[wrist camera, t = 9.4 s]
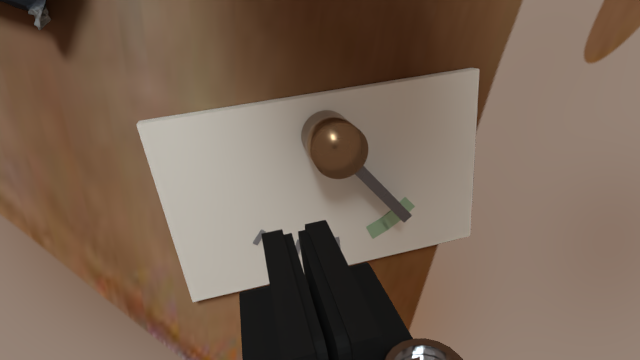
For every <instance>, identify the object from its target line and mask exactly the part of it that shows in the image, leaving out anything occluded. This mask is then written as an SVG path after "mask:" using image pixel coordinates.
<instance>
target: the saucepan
mask: <svg viewBox="0 0 640 360" xmlns="http://www.w3.org/2000/svg"><path fill="white" fill-rule="evenodd" d="M301 140H302V144H303V146H304V148H305V150H306V151H307V153H308V155H309V156H310V158H311V159H312V161H313V163H314V164H315V166H316V167H317V169H318V170H319V171H320V172H321V173H322V174H323V175H325V176H326V177H329V178H332V179H344V178H348V177H350V176H352V175H354V174H355V175H356V176H358V177H359V178H360V179H361V180H362V181H363V182H364V183H365V184H366V185H367V186H368V187H369V188H370V189H371V190H372V191H373V192H374V193H375V194H376V195H377V196H378V197H379V198H380V199H381V200H382V201H383V202H384V203H385V204H386V205H387V206H388V207H389V208H390V209H391V210H392V211H393V212H394V213H395V214H396V215H397V216H398V217H399V218H400V219H401V220H402V221H403V222H404V223H405V222H406V221H407V220H408V219H409V218H410V217H411V216H412V215H411V214H410V213H409V212H408V211H407V210H406V208H405V207H404V206H403V205H402V204H401V203H400V202H399V201H398V200H397V199H396V198H395V197H394V196H393V195H392V194H391V193H390V192H389V191H388V190H387V189H386V188H385V187H384V186H383V185H382V184H381V183H380V182H379V181H378V180H377V179H376V178H375V177H374V176H373V175H372V174H371V173H370V172H369V171H368V170H367V169H366V168H365V166H364V163H365V162H366V159H367V156H368V142H367V139H366V137H365V135H364V134H363V133H362V132H361V131H360V130H359V129H358V128H357V127H355V126H354V125H353V124H352V123H350V122H349V121H348V120H347V119H346V118H344V117H343V116H342V115H340V114H339V113H337V112H335V111H331V110H323V111H319V112H317V113H315V114H313V115H312V116H310V117H309V118H308V119H307V120H306V122H305V123H304V125H303V128H302V132H301Z"/></svg>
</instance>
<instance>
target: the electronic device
mask: <svg viewBox="0 0 640 360" xmlns="http://www.w3.org/2000/svg"><path fill="white" fill-rule="evenodd" d="M0 1H2V2H5V3H7V4H10V5H12V6H14V7H16V8H20V9H23V10H26V11H28V13H29V14H32V15H34V17H35V23H34V25H35V26H37V27H38V29H39V30H41V29H42V28H43V27H44V26H45V25H46V24H47V23H48V22H49V21H50V20H52V19H51V18H50V17H49V16H48V10H47V9H46V4H45V2H46V0H0Z"/></svg>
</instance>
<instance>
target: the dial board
mask: <svg viewBox="0 0 640 360" xmlns="http://www.w3.org/2000/svg"><path fill="white" fill-rule="evenodd" d="M478 86H479V69H476V68H467V69H461V70H454V71H448V72H442V73H436V74H429V75H423V76H417V77H411V78H404V79H398V80H392V81H386V82H379V83H373V84H367V85H361V86H354V87H348V88H342V89H336V90H329V91H323V92H317V93H311V94H304V95H298V96H292V97H286V98H279V99H273V100H267V101H261V102H254V103H248V104H242V105H236V106H229V107H223V108H217V109H211V110H204V111H198V112H192V113H186V114H179V115H173V116H167V117H161V118H154V119H148V120H142V121H139V122H138V123H137V124H136V125H137V128H138V131H139V134H140V138H141V141H142V144H143V147H144V150H145V153H146V156H147V160H148V163H149V166H150V169H151V172H152V175H153V179H154V182H155V185H156V188H157V191H158V194H159V197H160V201H161V204H162V207H163V210H164V213H165V216H166V220H167V223H168V226H169V229H170V232H171V235H172V238H173V242H174V245H175V248H176V251H177V254H178V257H179V261H180V264H181V267H182V270H183V273H184V276H185V279H186V283H187V286H188V289H189V292H190V295H191V298H192V302H196V301H200V300H204V299H208V298H213V297H217V296H221V295H225V294H229V293H234V292H238V291H242V290H246V289H251V288H255V287H259V286H263V285H267V284H269V278H268V272H267V266H266V260H265V254H264V248H263V242H262V236H261V234H262V233H267V232H271V231H276V230H281V229H282V230H283V234H289V233H292V236H293V239H294V242H295V245H296V249H297V252H298V255H299V258H300V262H301V265H302V268H303V262H302V256H301V250H300V244H299V237H298V231H302V230H305V224H308V223H313V222H318V221H322V220H326V221H327V223H328V225H329V227H330V229H331V231H332V233H333V235H334V237H335V239H336V241H337V243H338V245H339V247H340V249H341V251H342V253H343V255H344V257H345V259H346V261H347V263H348V265H352V264H356V263H360V262H364V261H369V260H373V259H377V258H381V257H385V256H390V255H394V254H398V253H402V252H407V251H411V250H415V249H419V248H423V247H428V246H432V245H436V244H440V243H444V242H449V241H452V240H457V239H461V238H465V237H470V235H471V217H472V198H473V179H474V161H475V160H474V159H475V142H476V124H477V105H478ZM323 110H331V111H335V112H337V113H339V114H340V115H342V116H343V117H344V118H346V119H347V120H348V121H349V122H350V123H352V124H353V125H354V126H355V127H357V128H358V129H359V130H360V131H361V132H362V133H363V134H364V135H365V137H366V139H367V142H368V156H367V159H366V162H365V163H364V166H365V168H366V169H367V170H368V171H369V172H370V173H371V174H372V175H373V176H374V177H375V178H376V179H377V180H378V181H379V182H380V183H381V184H382V185H383V186H384V187H385V188H386V189H387V190H388V191H389V192H390V193H391V194H392V195H393V196H394V197H395V198H396V199H397V200H398V201H399V202H400V203H401V204H402V205H403V206H404V207H405V208H406V210H407V211H408V212H409V213H410V214H411V215H412V216H411V217H410V218H409V219H408V220H407V221H406V222H405V223H404V222H403V221H402V220H401V219H400V218H399V217H398V216H397V215H396V214H395V213H394V212H393V211H392V210H391V209H390V208H389V207H388V206H387V205H386V204H385V203H384V202H383V201H382V200H381V199H380V198H379V197H378V196H377V195H376V194H375V193H374V192H373V191H372V190H371V189H370V188H369V187H368V186H367V185H366V184H365V183H364V182H363V181H362V180H361V179H360V178H359V177H358V176H356V175H355V174H354V175H352V176H350V177H348V178H344V179H332V178H329V177H326V176H325V175H323V174H322V173H321V172H320V171H319V170H318V169H317V167H316V166H315V164H314V163H313V161H312V159H311V158H310V156H309V155H308V153H307V151H306V150H305V148H304V146H303V144H302V140H301V132H302V128H303V125H304V123H305V122H306V120H307V119H308V118H309V117H310V116H312V115H313V114H315V113H317V112H319V111H323ZM303 271H304V269H303Z"/></svg>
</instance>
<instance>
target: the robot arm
mask: <svg viewBox="0 0 640 360" xmlns="http://www.w3.org/2000/svg"><path fill="white" fill-rule="evenodd" d="M261 236H262V242H263V248H264V254H265V260H266V266H267V272H268V278H269V284H270V285H269V286H264V287H260V288H256V289H252V290H248V291H243V292H240V294H239V295H240V318H241V337H242V356H243V360H463V359H462V358H461V357H460V356H459V355H458V354H457V353H456V352H455V351H453V350H452V349H451V348H450V347H448V346H446V345H444V344H442V343H440V342H438V341H434V340H429V339H413V338H412V337H411V335H410V333H409V331H408V330H407V328H406V326H405V324H404V323H403V321H402V319H401V318H400V316H399V314H398V312H397V311H396V309H395V307H394V306H393V304H392V302H391V300H390V299H389V297H388V295H387V294H386V292H385V290H384V288H383V287H382V285H381V283H380V282H379V280H378V278H377V276H376V275H375V273H374V271H373V270H372V268H371V266H370V265H369V264H368V263H367V262H365V263H361V264H357V265H353V266H349V265H348V263H347V261H346V259H345V257H344V255H343V253H342V251H341V249H340V247H339V245H338V243H337V241H336V239H335V237H334V235H333V233H332V231H331V229H330V227H329V225H328V223H327V221H326V220H322V221H318V222H313V223H308V224H305V230H302V231H298V237H299V244H300V250H301V256H302V262H303V268H302V265H301V262H300V258H299V255H298V252H297V249H296V245H295V242H294V239H293V236H292V233H289V234H283V230H282V229H281V230H276V231H271V232H267V233H262V234H261ZM303 269H304V271H303Z"/></svg>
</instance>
